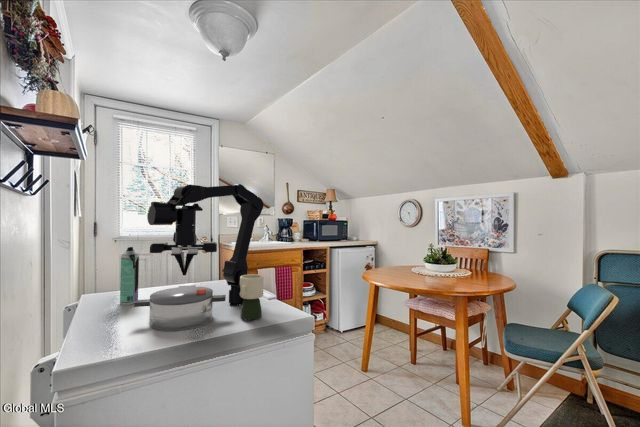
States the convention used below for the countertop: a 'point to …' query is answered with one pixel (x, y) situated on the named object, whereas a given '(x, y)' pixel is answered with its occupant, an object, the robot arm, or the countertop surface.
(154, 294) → the cooker lid
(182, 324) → the cooker pot
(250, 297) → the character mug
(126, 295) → the spray can
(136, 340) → the countertop surface
